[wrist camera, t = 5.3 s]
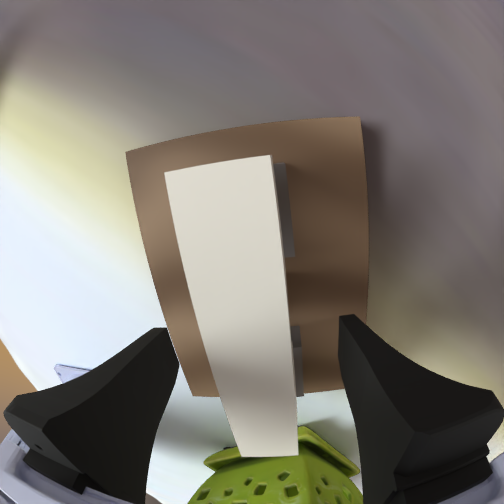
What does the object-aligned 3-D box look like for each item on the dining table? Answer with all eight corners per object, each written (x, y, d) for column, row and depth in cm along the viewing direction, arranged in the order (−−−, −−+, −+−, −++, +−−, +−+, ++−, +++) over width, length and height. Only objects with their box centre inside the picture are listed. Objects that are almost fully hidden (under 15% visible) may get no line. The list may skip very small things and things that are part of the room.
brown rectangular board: (354, 372, 19) (368, 423, 14) (197, 382, 20) (181, 431, 15) (351, 119, 13) (385, 106, 9) (137, 151, 15) (86, 154, 10)
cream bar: (296, 402, 15) (298, 455, 12) (248, 404, 16) (241, 456, 12) (271, 154, 11) (270, 154, 7) (199, 165, 11) (164, 172, 8)
